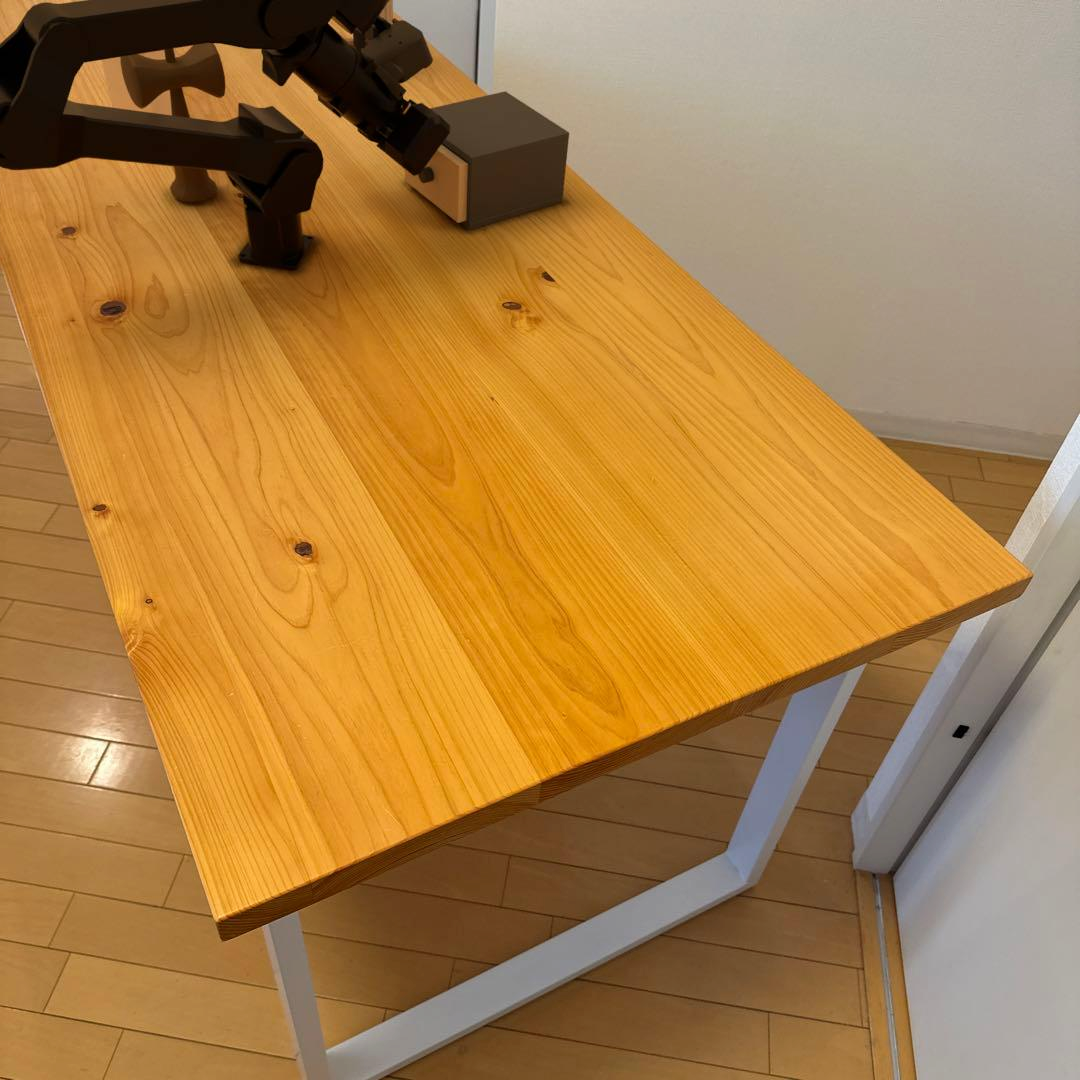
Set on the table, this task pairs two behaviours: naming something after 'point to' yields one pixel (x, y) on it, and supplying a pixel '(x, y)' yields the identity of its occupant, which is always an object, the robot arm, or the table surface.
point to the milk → (120, 92)
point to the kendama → (178, 99)
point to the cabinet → (506, 156)
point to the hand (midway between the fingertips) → (428, 154)
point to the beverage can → (359, 38)
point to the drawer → (444, 182)
